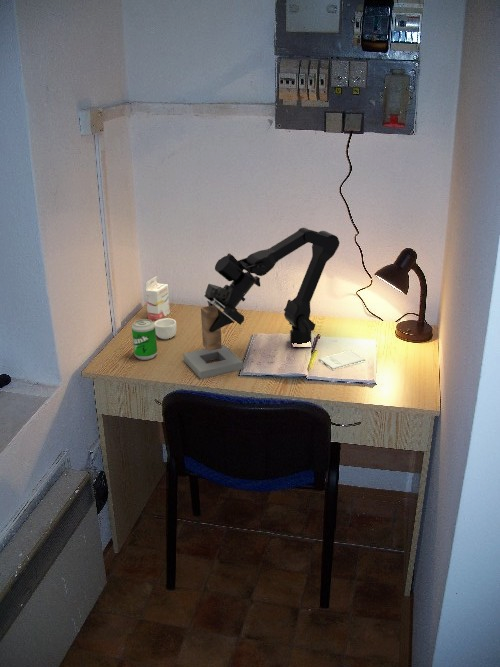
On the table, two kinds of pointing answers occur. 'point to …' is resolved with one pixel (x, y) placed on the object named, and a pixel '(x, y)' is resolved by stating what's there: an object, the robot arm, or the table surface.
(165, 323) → the teacup
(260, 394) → the table surface
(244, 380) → the table surface
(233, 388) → the table surface
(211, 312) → the walnut pillar
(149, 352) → the soda can
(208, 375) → the socket base
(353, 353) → the external hard drive
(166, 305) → the milk carton
